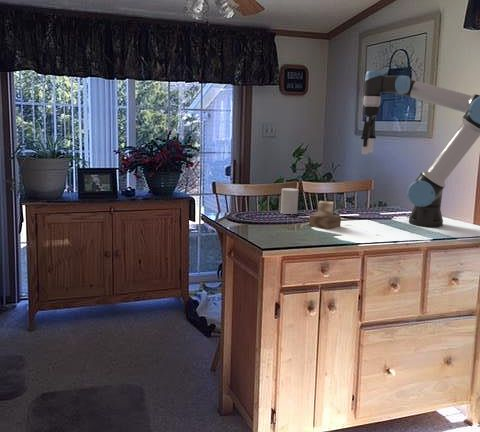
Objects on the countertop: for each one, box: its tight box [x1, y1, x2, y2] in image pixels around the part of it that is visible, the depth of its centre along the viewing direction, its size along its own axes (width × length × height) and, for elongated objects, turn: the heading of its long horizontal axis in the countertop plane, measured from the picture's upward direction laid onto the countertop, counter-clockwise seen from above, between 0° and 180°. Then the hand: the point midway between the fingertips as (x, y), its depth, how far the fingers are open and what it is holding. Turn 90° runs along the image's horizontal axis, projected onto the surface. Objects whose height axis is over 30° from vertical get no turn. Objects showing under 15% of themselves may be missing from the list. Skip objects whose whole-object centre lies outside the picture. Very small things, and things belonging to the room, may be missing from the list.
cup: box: [280, 187, 300, 216], centre depth 262 cm, size 8×8×12 cm
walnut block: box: [308, 213, 342, 230], centre depth 237 cm, size 10×10×5 cm
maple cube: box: [317, 200, 334, 217], centre depth 236 cm, size 6×6×6 cm
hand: (367, 153), depth 246 cm, fingers open, 13 cm apart
